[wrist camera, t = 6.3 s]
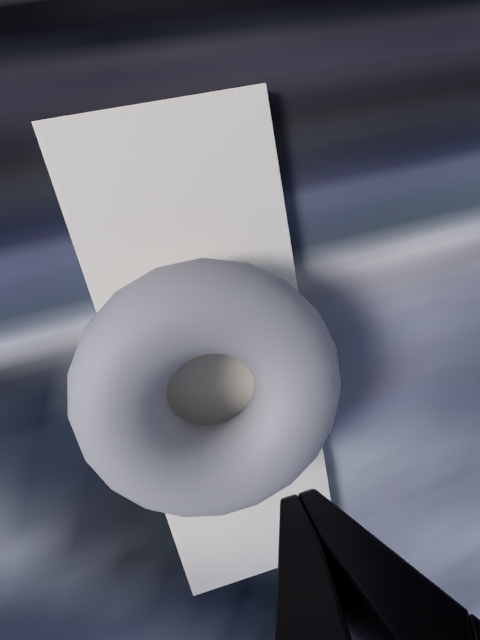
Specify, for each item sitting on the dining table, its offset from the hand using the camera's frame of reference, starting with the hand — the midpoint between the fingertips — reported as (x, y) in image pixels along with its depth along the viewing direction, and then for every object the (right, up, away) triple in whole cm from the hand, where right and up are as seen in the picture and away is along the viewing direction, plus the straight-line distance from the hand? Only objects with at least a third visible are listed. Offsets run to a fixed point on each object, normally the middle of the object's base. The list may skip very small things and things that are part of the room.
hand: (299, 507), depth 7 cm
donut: (-7, 0, +4) cm, 8 cm away
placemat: (-2, +2, +7) cm, 8 cm away
